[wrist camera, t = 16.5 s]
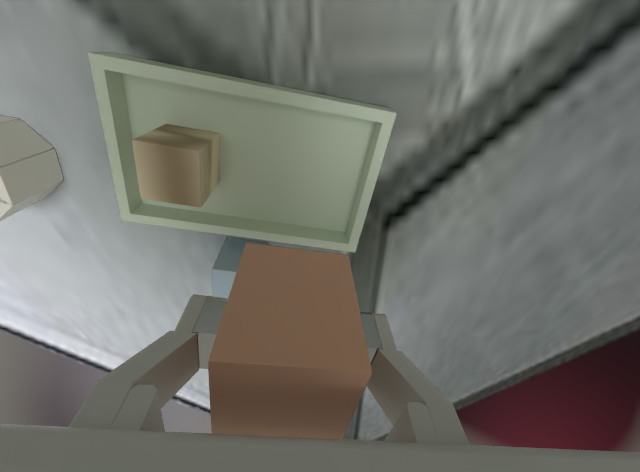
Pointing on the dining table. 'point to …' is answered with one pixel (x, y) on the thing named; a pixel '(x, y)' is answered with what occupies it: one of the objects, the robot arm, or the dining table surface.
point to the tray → (247, 151)
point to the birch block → (177, 164)
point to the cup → (24, 166)
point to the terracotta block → (288, 347)
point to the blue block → (228, 265)
